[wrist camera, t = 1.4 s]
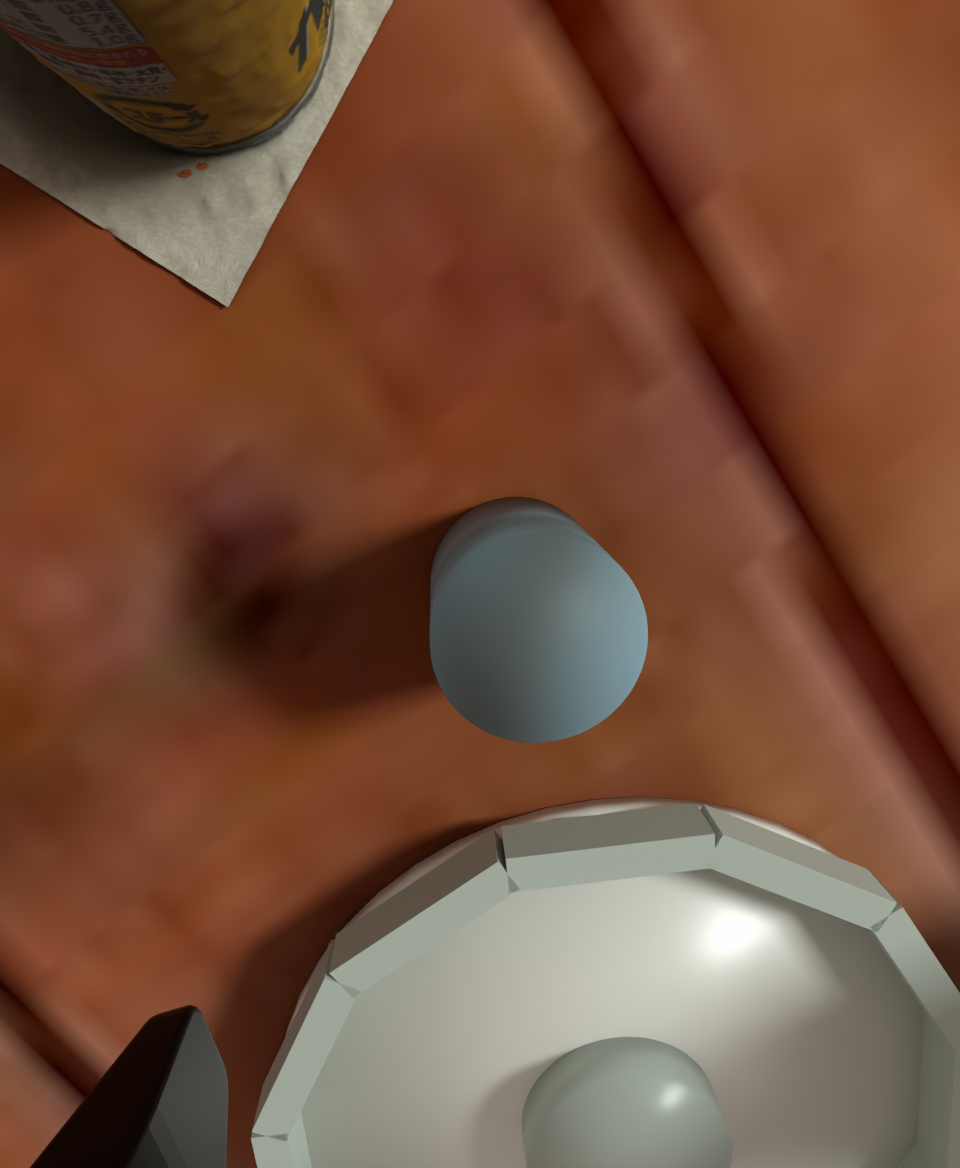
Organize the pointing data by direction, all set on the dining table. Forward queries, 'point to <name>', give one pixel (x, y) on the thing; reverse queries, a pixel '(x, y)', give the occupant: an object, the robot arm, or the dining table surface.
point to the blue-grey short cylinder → (532, 622)
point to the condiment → (176, 115)
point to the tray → (622, 1007)
